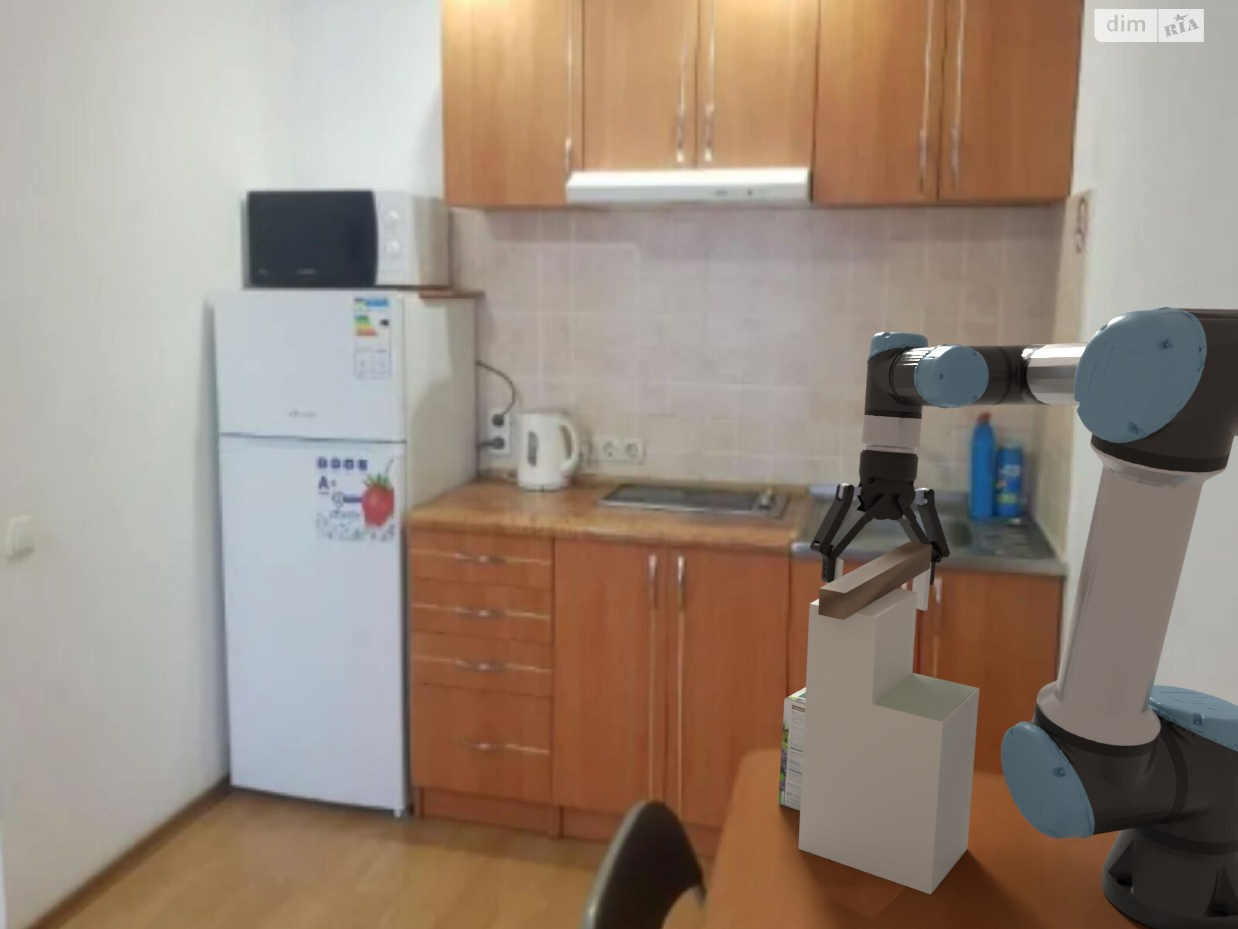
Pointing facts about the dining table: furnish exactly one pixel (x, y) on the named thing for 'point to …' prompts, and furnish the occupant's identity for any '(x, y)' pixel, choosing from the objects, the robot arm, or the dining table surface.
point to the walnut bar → (873, 580)
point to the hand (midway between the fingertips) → (875, 608)
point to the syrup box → (792, 750)
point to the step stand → (884, 749)
